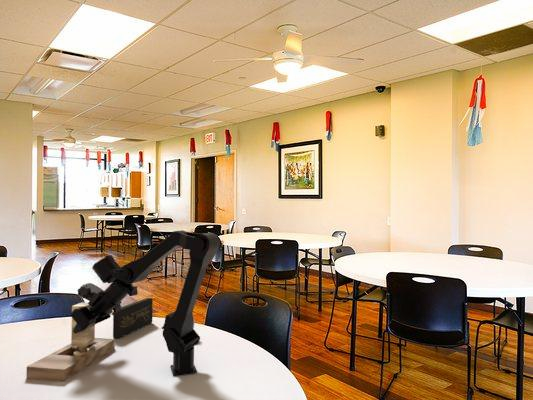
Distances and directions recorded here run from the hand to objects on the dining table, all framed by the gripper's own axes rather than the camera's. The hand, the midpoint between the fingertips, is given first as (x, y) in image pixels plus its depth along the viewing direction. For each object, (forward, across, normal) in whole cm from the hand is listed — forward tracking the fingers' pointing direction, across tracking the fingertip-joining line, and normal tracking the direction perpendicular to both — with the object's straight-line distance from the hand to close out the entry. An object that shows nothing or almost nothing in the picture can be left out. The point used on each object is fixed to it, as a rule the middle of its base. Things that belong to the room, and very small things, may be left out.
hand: (79, 329), depth 120 cm
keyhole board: (+5, +4, +7) cm, 9 cm away
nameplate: (+3, -27, +9) cm, 29 cm away
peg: (+4, 0, +6) cm, 7 cm away
